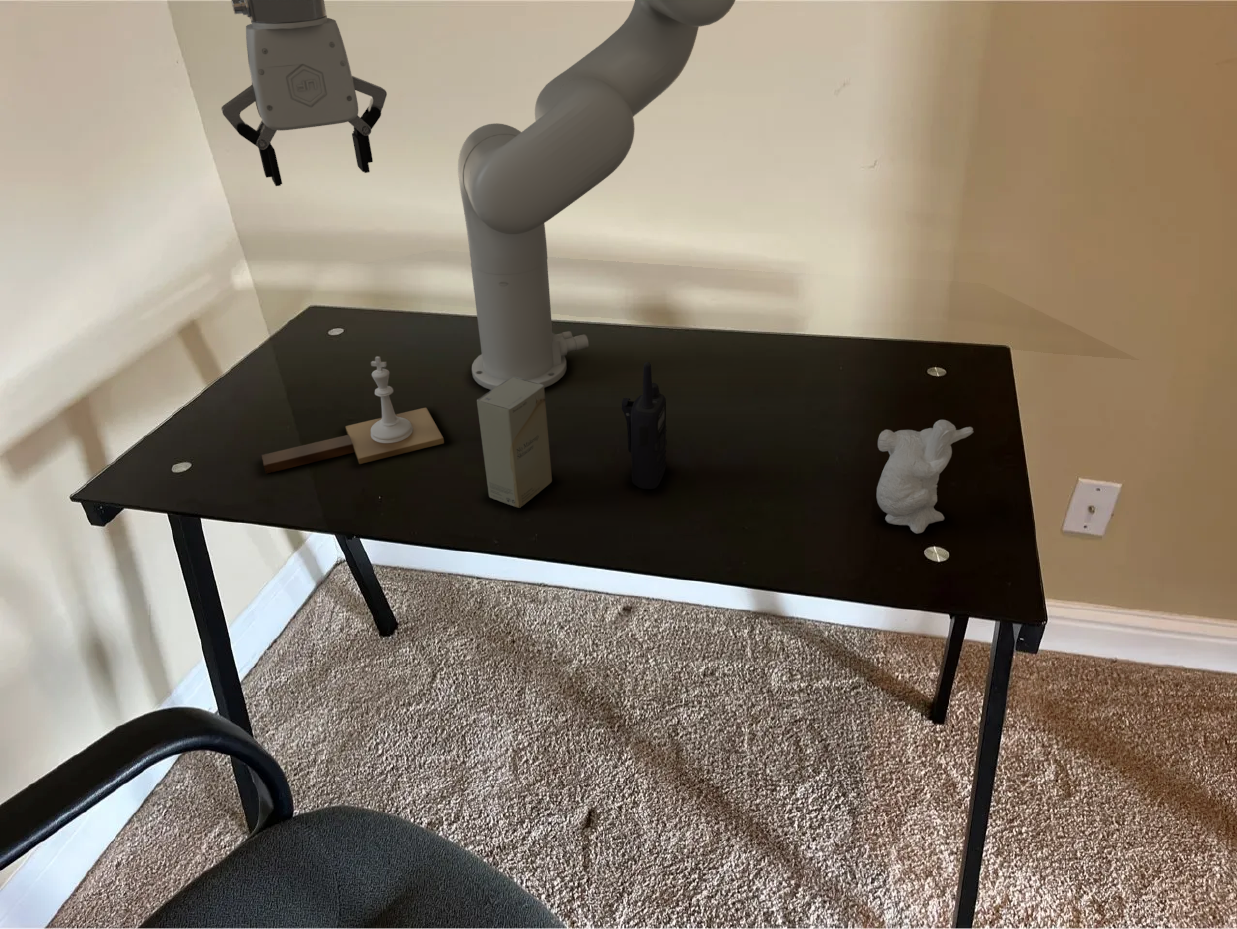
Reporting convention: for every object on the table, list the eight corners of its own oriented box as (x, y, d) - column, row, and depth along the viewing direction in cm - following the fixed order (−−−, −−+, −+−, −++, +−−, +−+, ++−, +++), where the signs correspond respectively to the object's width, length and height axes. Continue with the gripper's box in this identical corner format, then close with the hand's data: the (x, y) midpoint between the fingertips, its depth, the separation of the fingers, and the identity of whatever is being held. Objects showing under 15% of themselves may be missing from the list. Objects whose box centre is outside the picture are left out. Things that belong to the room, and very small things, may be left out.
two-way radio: (656, 495, 99) (656, 371, 91) (617, 488, 100) (613, 366, 92) (669, 467, 103) (670, 346, 95) (631, 461, 104) (629, 342, 96)
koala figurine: (955, 510, 95) (977, 410, 89) (948, 548, 90) (971, 446, 84) (872, 494, 98) (887, 396, 91) (861, 530, 93) (877, 429, 86)
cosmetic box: (519, 510, 97) (509, 411, 90) (486, 498, 99) (474, 400, 93) (554, 480, 102) (546, 384, 95) (521, 469, 104) (512, 374, 97)
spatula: (427, 412, 115) (425, 404, 114) (444, 443, 109) (443, 434, 108) (260, 451, 108) (258, 443, 108) (269, 487, 102) (266, 478, 101)
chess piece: (402, 445, 107) (388, 369, 101) (363, 441, 108) (347, 365, 102) (419, 423, 111) (406, 349, 105) (381, 420, 112) (366, 346, 106)
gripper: (201, 20, 88) (245, 197, 98) (379, 5, 94) (405, 173, 104) (194, 11, 94) (236, 179, 103) (363, -3, 100) (388, 157, 109)
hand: (321, 176), depth 104 cm, fingers open, 9 cm apart
